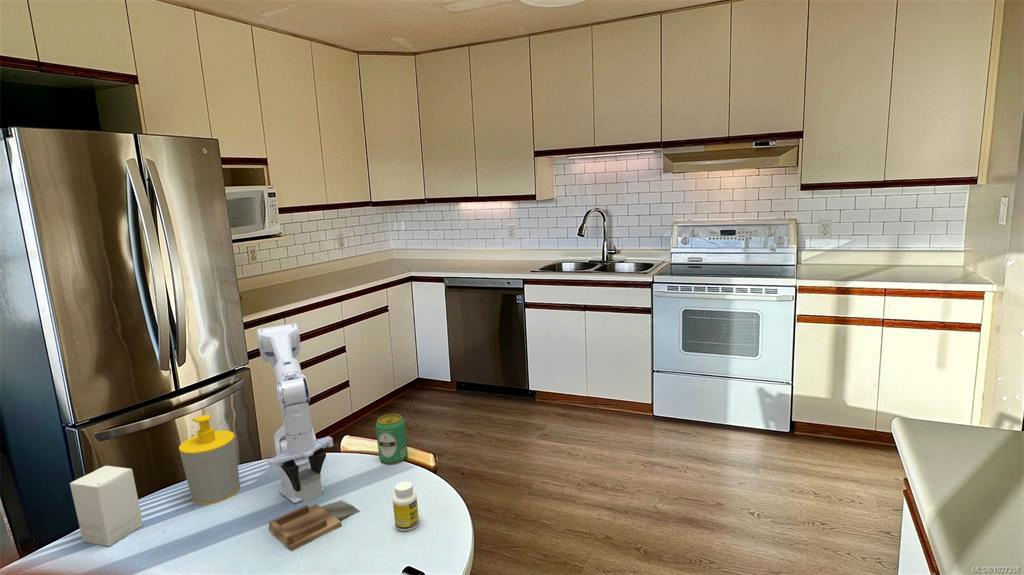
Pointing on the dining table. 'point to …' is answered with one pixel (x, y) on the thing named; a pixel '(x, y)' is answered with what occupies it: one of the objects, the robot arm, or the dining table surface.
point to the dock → (309, 523)
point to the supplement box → (106, 505)
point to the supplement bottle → (405, 507)
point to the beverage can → (391, 438)
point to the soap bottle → (210, 463)
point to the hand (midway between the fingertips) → (306, 485)
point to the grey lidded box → (309, 485)
